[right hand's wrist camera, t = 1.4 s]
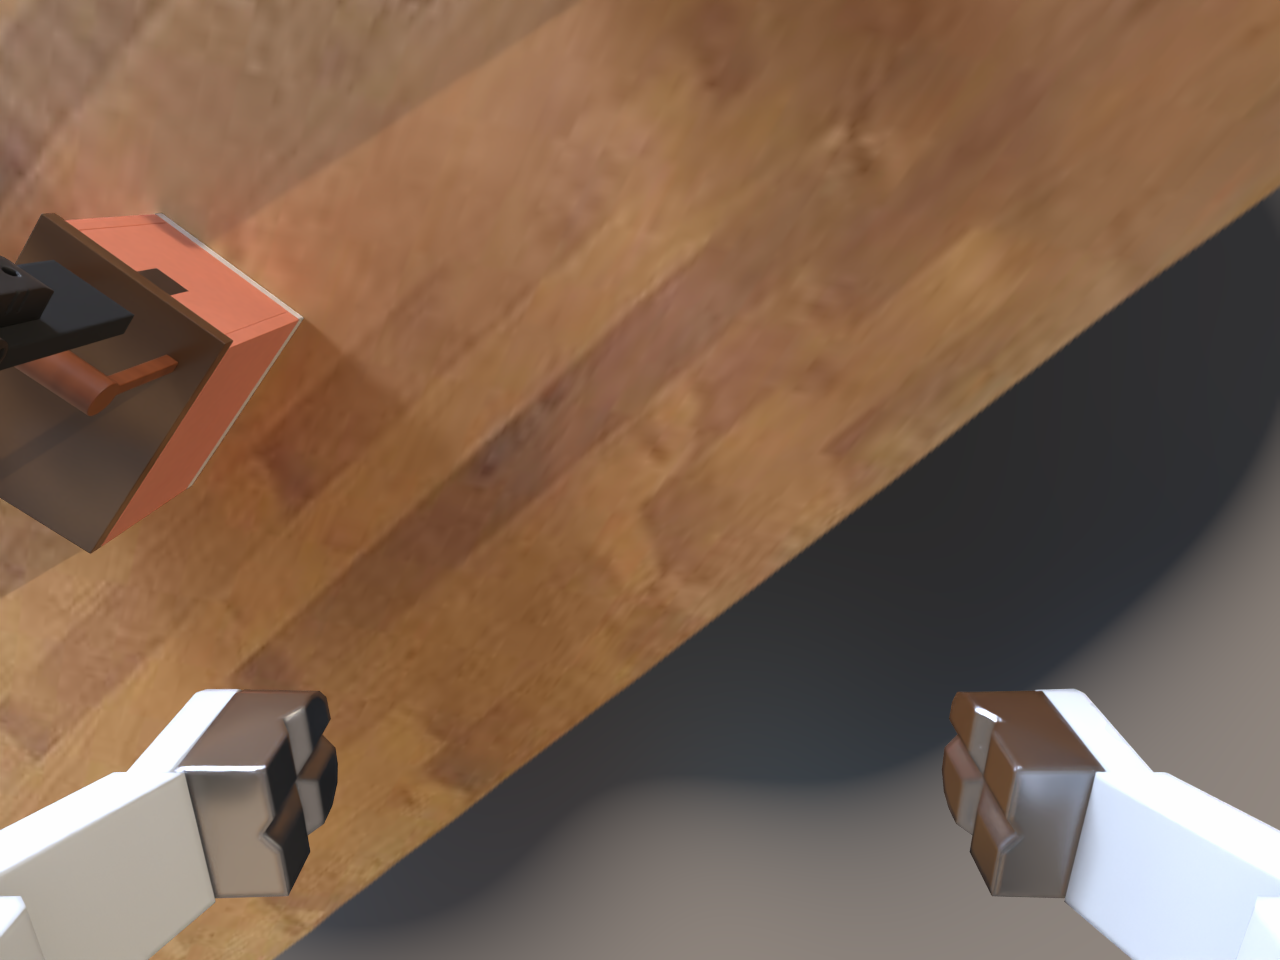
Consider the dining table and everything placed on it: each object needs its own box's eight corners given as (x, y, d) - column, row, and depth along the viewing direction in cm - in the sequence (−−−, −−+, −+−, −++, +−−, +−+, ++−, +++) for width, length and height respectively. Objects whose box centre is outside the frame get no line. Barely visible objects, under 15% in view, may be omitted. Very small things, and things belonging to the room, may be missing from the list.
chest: (161, 213, 49) (51, 220, 40) (304, 317, 51) (230, 347, 42) (55, 395, 53) (-69, 441, 44) (191, 485, 55) (101, 547, 46)
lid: (54, 212, 39) (-83, 219, 32) (234, 340, 42) (145, 375, 34) (-69, 441, 43) (-216, 495, 36) (101, 547, 46) (-5, 619, 38)
